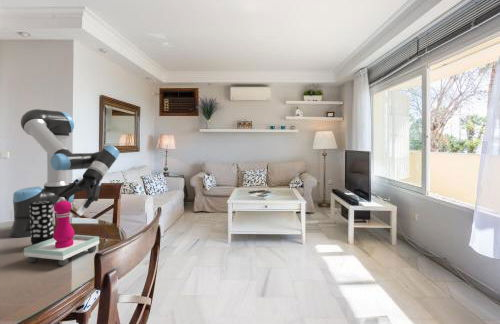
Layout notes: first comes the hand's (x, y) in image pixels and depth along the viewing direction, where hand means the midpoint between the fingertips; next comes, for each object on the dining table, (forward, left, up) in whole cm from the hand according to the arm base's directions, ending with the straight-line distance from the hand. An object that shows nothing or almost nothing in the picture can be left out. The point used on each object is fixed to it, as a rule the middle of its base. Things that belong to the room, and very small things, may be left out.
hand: (65, 213), depth 112 cm
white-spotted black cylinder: (-20, +7, -18) cm, 28 cm away
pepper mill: (0, -1, -14) cm, 14 cm away
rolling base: (0, -1, -18) cm, 18 cm away
